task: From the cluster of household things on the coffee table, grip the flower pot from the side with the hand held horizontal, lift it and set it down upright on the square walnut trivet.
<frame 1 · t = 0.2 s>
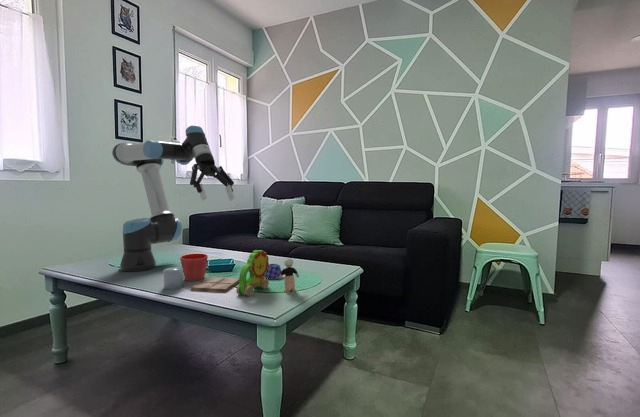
hand: (219, 199, 138), 34 cm above the table, tool tilted 30°, fingers open, 13 cm apart
grey rounded cylinder: (173, 286, 130), on the table
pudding: (273, 277, 145), on the table
flower pot: (194, 278, 141), on the table
toy lion: (254, 291, 126), on the table
trivet: (216, 285, 131), on the table
grandmother figurine: (288, 291, 125), on the table
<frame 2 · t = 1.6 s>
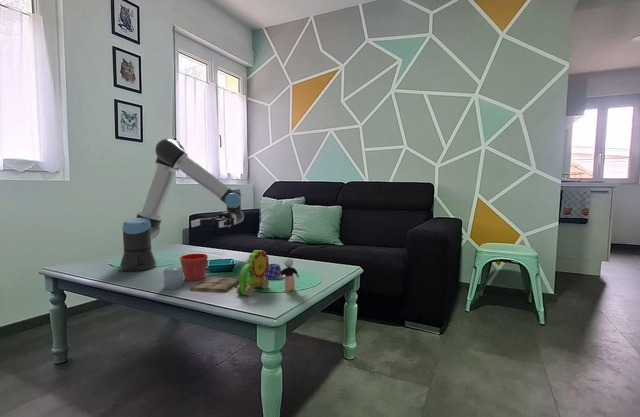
hand: (205, 224, 150), 22 cm above the table, tool horizontal, fingers open, 13 cm apart
nothing on the table moved.
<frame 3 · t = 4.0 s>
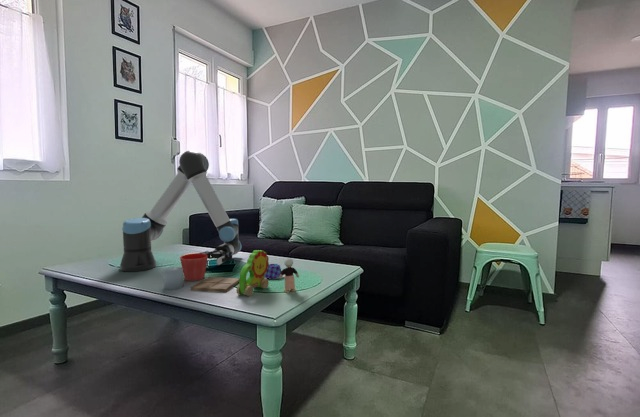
hand: (203, 261, 147), 6 cm above the table, tool horizontal, fingers open, 13 cm apart
nothing on the table moved.
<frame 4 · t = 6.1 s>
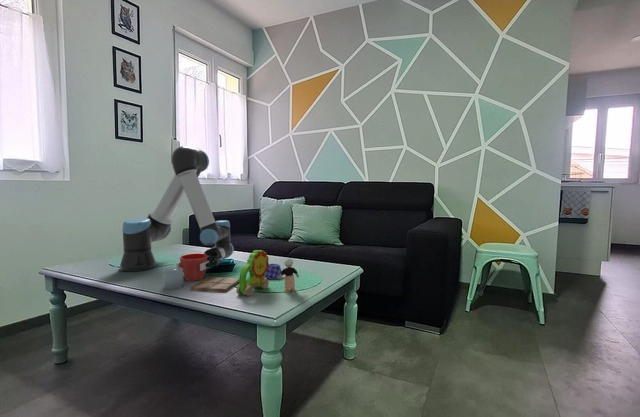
hand: (188, 266, 137), 6 cm above the table, tool horizontal, fingers closed on flower pot, 10 cm apart
flower pot: (194, 278, 141), on the table, touching gripper
everything else where it was.
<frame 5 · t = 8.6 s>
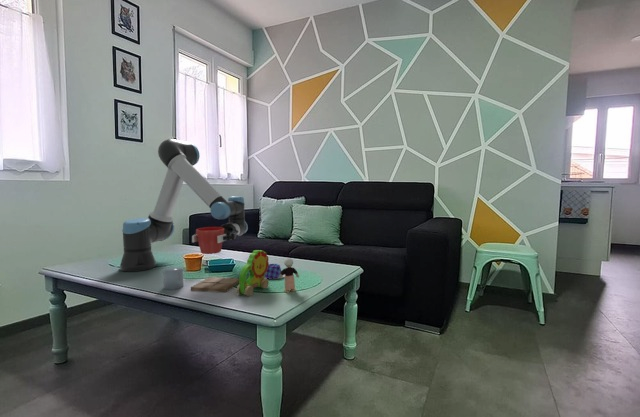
hand: (205, 239, 130), 19 cm above the table, tool horizontal, fingers closed on flower pot, 10 cm apart
flower pot: (211, 252, 134), point 12 cm above the table, touching gripper
everything else where it was.
when the fingers open (8 cm above the table, at t = 11.3 s): flower pot moves 2 cm, resting on trivet.
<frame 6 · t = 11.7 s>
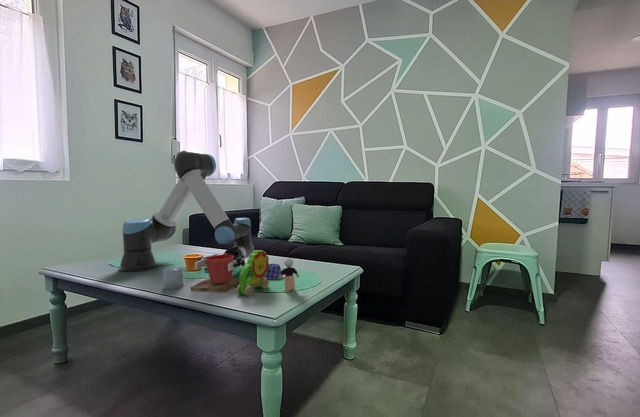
hand: (212, 266, 127), 8 cm above the table, tool horizontal, fingers open, 13 cm apart
flower pot: (221, 281, 131), point 2 cm above the table, touching gripper, trivet
everything else where it was.
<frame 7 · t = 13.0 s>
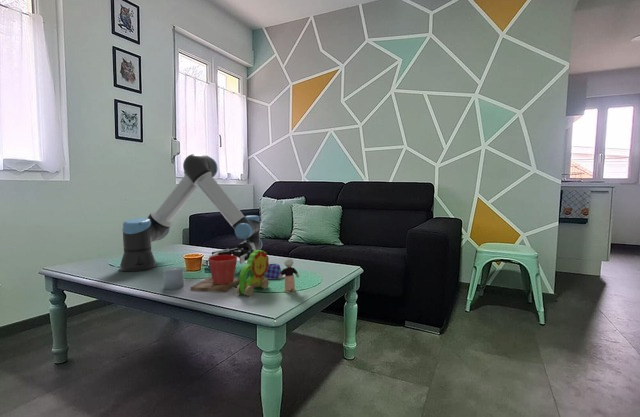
hand: (225, 259, 139), 9 cm above the table, tool horizontal, fingers open, 13 cm apart
flower pot: (223, 281, 132), point 1 cm above the table, touching trivet
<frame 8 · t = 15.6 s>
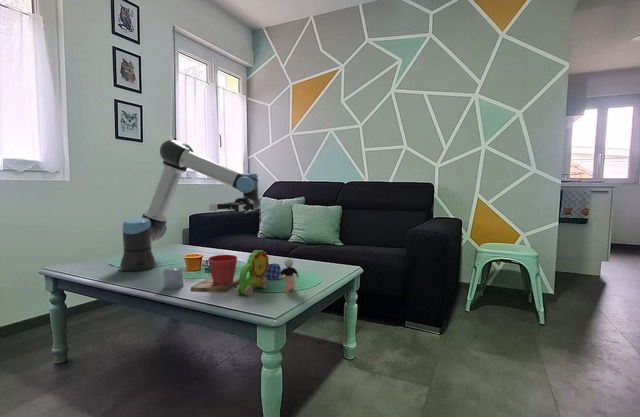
hand: (224, 208, 142), 30 cm above the table, tool horizontal, fingers open, 13 cm apart
at the end: flower pot inside the target area on the trivet (2.6 cm from its centre), point 1.3 cm above the trivet's base; flower pot tilted 0°; the gripper is holding nothing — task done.
